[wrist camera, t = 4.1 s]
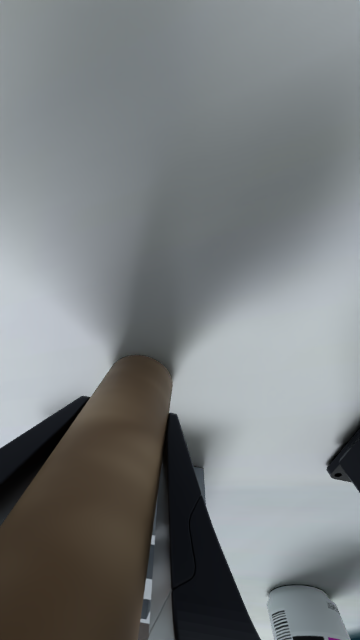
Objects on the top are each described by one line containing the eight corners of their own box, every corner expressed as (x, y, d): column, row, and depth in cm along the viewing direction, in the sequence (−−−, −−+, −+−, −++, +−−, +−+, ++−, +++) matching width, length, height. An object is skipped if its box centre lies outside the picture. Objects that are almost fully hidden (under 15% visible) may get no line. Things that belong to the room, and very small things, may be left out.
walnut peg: (178, 362, 10) (141, 688, 2) (166, 412, 11) (120, 711, 4) (110, 348, 10) (-138, 642, 2) (107, 400, 11) (-54, 682, 4)
